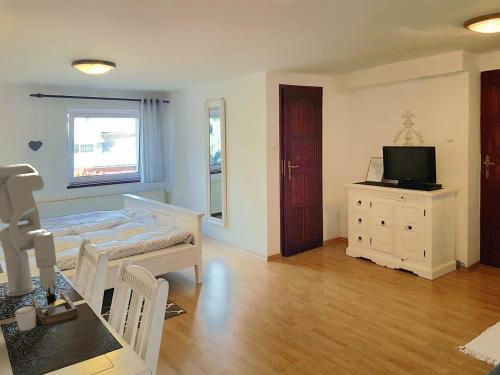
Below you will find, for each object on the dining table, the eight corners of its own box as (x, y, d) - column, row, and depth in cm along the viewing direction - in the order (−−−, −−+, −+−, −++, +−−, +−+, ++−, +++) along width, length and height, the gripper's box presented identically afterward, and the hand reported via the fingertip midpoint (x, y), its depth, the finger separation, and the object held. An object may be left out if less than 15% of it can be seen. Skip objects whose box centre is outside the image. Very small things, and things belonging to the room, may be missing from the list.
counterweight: (48, 317, 162) (47, 310, 161) (64, 312, 165) (64, 305, 165) (51, 322, 157) (50, 315, 156) (67, 317, 160) (67, 310, 160)
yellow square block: (50, 309, 169) (49, 302, 168) (62, 305, 172) (61, 298, 172) (55, 312, 165) (54, 305, 165) (67, 308, 169) (66, 301, 169)
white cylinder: (28, 331, 149) (26, 313, 148) (12, 331, 151) (10, 313, 150) (41, 323, 156) (39, 306, 155) (26, 322, 157) (24, 305, 156)
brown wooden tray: (32, 304, 175) (31, 297, 174) (63, 296, 182) (62, 289, 181) (42, 325, 154) (41, 317, 153) (77, 315, 161) (76, 308, 160)
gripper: (33, 260, 172) (39, 301, 175) (39, 268, 160) (45, 312, 163) (52, 256, 177) (57, 296, 179) (59, 263, 165) (65, 306, 167)
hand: (51, 303), depth 171 cm, fingers closed
